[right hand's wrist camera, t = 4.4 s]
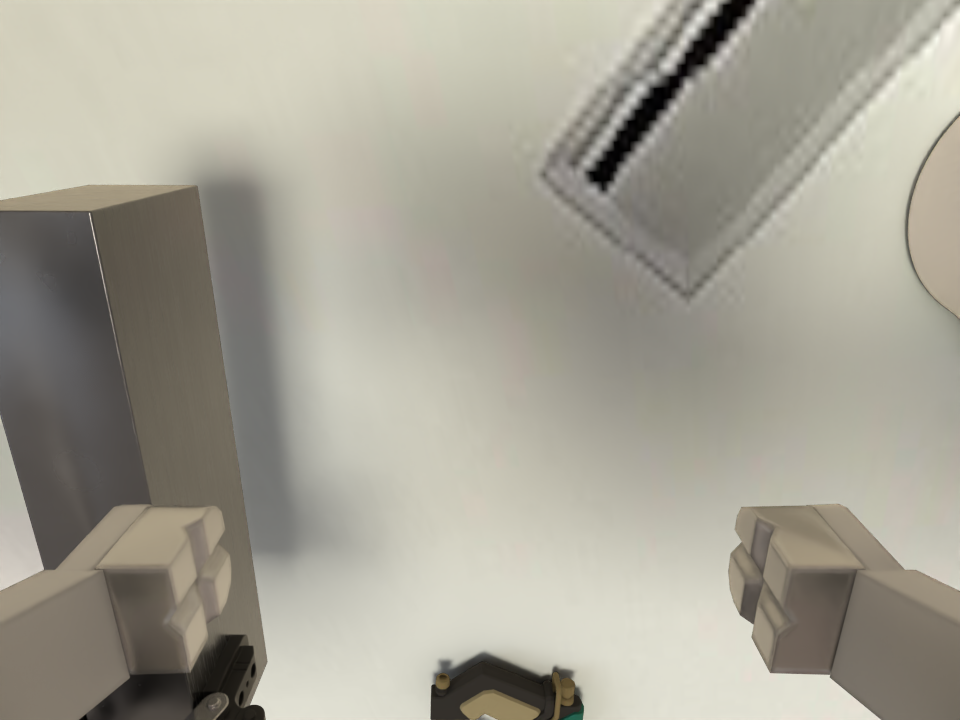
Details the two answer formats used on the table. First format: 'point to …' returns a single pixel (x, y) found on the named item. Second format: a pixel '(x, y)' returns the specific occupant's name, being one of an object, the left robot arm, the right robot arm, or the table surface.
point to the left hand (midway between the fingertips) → (188, 647)
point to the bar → (121, 392)
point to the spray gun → (503, 696)
